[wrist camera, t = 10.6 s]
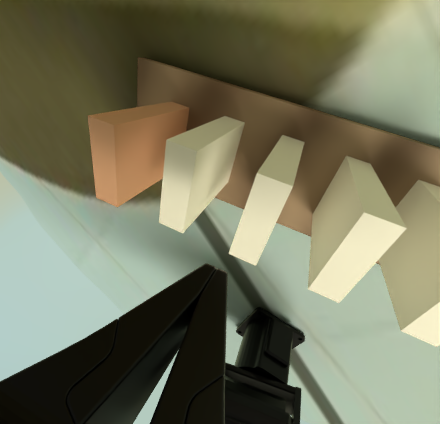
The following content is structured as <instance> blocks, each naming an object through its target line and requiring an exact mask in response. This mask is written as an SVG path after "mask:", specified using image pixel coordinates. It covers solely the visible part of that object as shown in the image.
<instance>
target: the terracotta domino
mask: <svg viewBox="0 0 440 424" xmlns="http://www.w3.org/2000/svg"><path fill="white" fill-rule="evenodd" d="M188 115H189V107H186V106H183V105H180V104H177V103H174V102H166V103H160V104H154V105H148V106H142V107H136V108H130V109H124V110H118V111H112V112H106V113H100V114H94V115H88V122H89V131H90V141H91V151H92V160H93V170H94V180H95V189H96V198H98V199H101V200H103V201H105V202H107V203H109V204H112V205H114V206H116V207H118V206H120V205H122V204H123V203H125V202H126V201H128V200H129V199H131V198H133V197H134V196H136V195H137V194H139V193H140V192H142V191H144V190H145V189H147V188H148V187H150V186H151V185H153V184H154V183H156V182H158V181H159V180H161V179H162V178H163V171H164V160H165V149H166V140H167V139H169V138H172V137H174V136H177V135H179V134H182V133H184V132H186V129H187V122H188Z"/></svg>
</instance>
